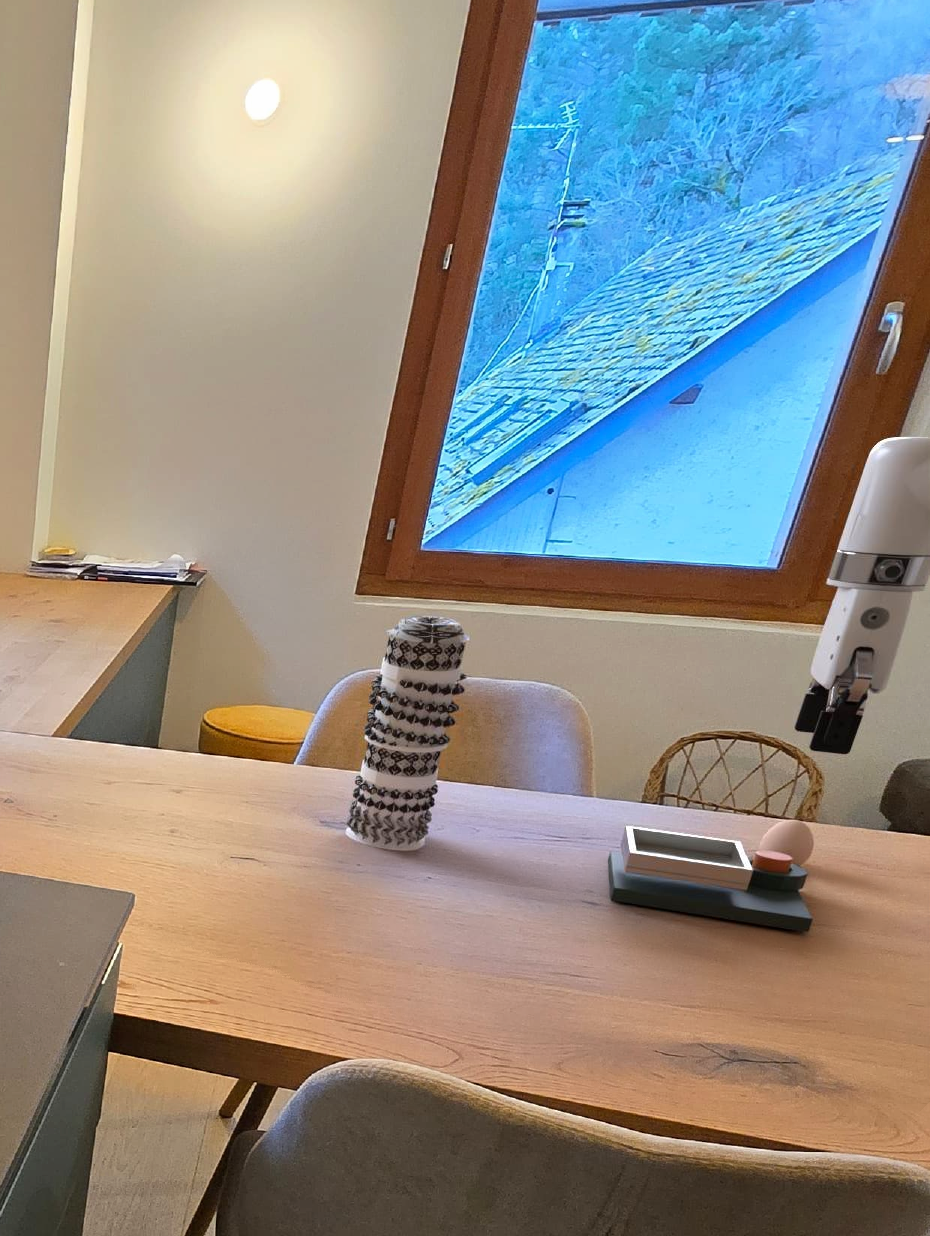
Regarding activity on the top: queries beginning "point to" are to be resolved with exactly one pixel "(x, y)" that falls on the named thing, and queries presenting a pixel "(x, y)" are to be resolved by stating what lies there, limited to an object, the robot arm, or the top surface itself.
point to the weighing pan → (686, 857)
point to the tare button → (772, 861)
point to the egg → (789, 840)
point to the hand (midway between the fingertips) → (820, 741)
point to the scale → (719, 895)
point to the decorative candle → (407, 733)
